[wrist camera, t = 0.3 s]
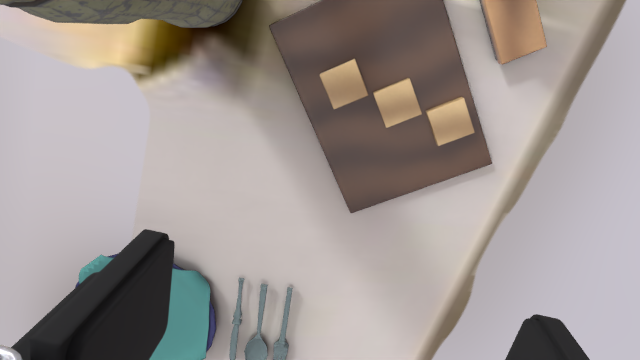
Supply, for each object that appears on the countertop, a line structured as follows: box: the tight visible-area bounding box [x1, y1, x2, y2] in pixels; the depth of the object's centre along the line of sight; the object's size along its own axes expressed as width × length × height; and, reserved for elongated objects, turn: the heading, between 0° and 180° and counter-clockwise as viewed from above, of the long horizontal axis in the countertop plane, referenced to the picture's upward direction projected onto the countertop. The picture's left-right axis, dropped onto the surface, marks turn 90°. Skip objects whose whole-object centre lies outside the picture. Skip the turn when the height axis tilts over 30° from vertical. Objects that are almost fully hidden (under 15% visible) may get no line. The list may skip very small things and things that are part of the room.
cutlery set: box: [75, 254, 293, 360], centre depth 55 cm, size 20×30×2 cm, turn 81°
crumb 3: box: [425, 97, 475, 146], centre depth 43 cm, size 4×4×1 cm
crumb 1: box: [320, 59, 368, 109], centre depth 43 cm, size 4×4×1 cm
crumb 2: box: [373, 78, 422, 128], centre depth 43 cm, size 4×4×1 cm
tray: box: [269, 0, 492, 213], centre depth 44 cm, size 23×17×1 cm
